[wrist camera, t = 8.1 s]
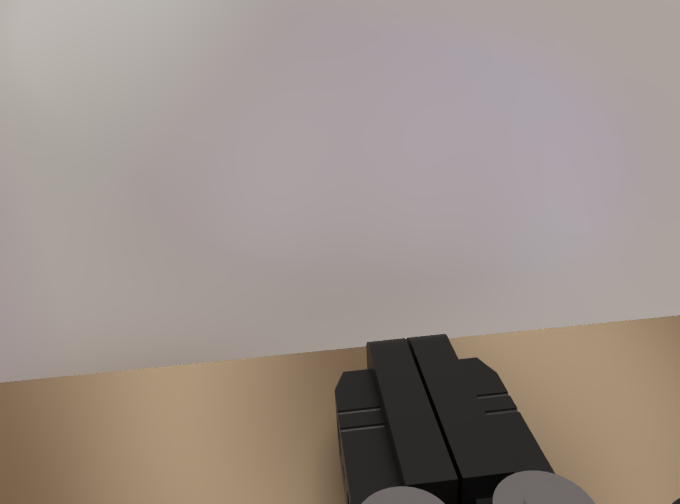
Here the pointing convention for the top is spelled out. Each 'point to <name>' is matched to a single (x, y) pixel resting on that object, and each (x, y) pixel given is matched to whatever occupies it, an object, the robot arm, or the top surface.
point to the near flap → (335, 422)
